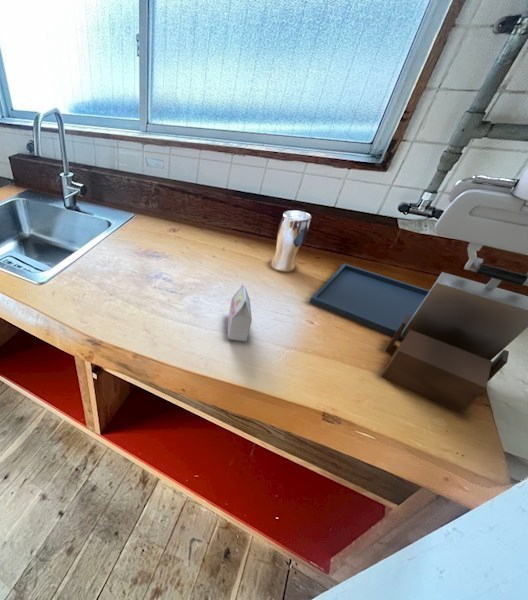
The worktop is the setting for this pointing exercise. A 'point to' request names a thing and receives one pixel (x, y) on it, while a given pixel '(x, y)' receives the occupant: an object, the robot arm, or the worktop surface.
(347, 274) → the tray
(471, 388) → the stand
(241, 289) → the grey boxy piece
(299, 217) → the silver metal vase
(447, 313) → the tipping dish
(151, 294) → the worktop surface
